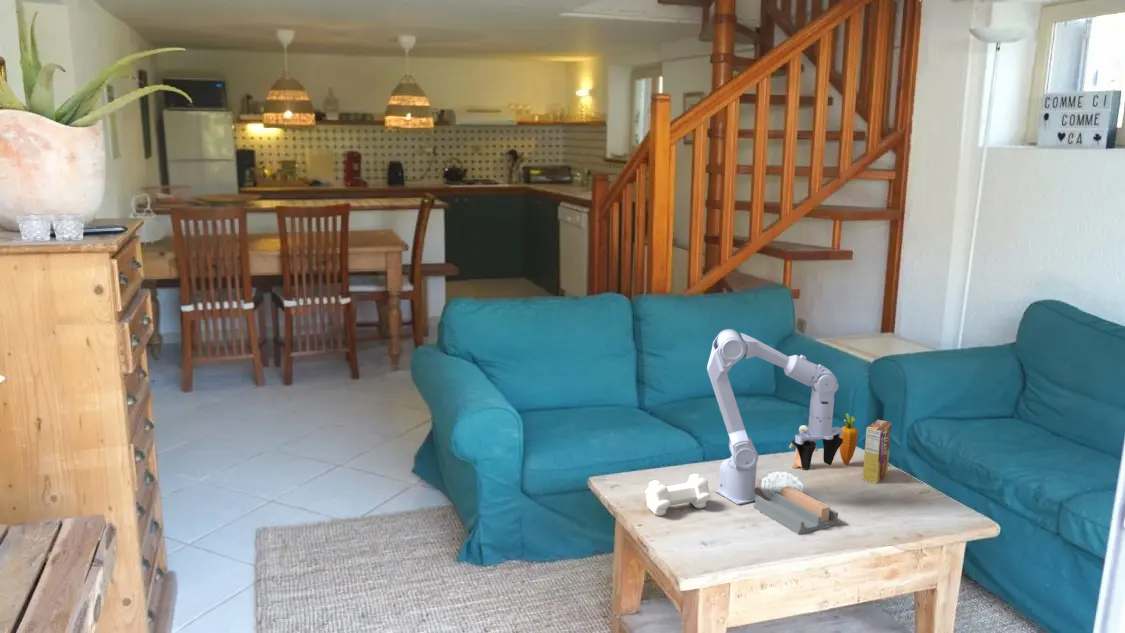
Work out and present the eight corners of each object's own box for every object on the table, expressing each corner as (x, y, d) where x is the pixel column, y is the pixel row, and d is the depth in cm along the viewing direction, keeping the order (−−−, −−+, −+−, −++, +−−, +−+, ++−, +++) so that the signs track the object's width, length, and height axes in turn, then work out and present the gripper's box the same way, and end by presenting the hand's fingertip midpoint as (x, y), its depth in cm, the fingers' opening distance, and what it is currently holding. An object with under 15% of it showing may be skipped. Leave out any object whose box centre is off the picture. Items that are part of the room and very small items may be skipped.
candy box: (872, 470, 242) (877, 419, 239) (887, 474, 239) (893, 422, 236) (861, 479, 235) (866, 427, 232) (876, 483, 232) (882, 430, 229)
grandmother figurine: (788, 469, 242) (791, 426, 239) (787, 464, 245) (790, 422, 243) (816, 471, 240) (820, 428, 238) (815, 466, 244) (818, 424, 241)
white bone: (658, 522, 209) (661, 492, 206) (641, 505, 216) (644, 476, 214) (710, 512, 215) (714, 483, 212) (692, 496, 222) (695, 468, 220)
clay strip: (780, 500, 218) (781, 487, 218) (788, 498, 220) (789, 485, 219) (820, 522, 206) (822, 508, 206) (828, 520, 208) (829, 506, 207)
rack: (753, 508, 216) (754, 497, 215) (792, 498, 222) (793, 488, 221) (798, 534, 202) (799, 522, 201) (838, 523, 208) (839, 512, 207)
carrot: (855, 468, 243) (860, 418, 239) (837, 467, 244) (842, 417, 240) (853, 462, 247) (858, 413, 244) (835, 460, 248) (840, 411, 245)
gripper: (810, 424, 210) (806, 476, 213) (853, 416, 216) (848, 466, 219) (790, 415, 216) (786, 466, 219) (832, 408, 222) (828, 457, 225)
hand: (816, 465), depth 219 cm, fingers open, 7 cm apart
